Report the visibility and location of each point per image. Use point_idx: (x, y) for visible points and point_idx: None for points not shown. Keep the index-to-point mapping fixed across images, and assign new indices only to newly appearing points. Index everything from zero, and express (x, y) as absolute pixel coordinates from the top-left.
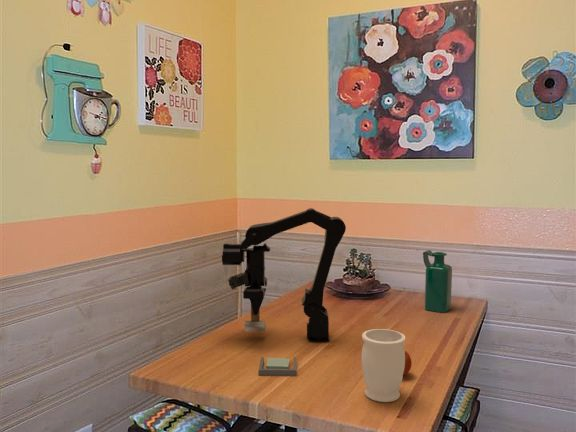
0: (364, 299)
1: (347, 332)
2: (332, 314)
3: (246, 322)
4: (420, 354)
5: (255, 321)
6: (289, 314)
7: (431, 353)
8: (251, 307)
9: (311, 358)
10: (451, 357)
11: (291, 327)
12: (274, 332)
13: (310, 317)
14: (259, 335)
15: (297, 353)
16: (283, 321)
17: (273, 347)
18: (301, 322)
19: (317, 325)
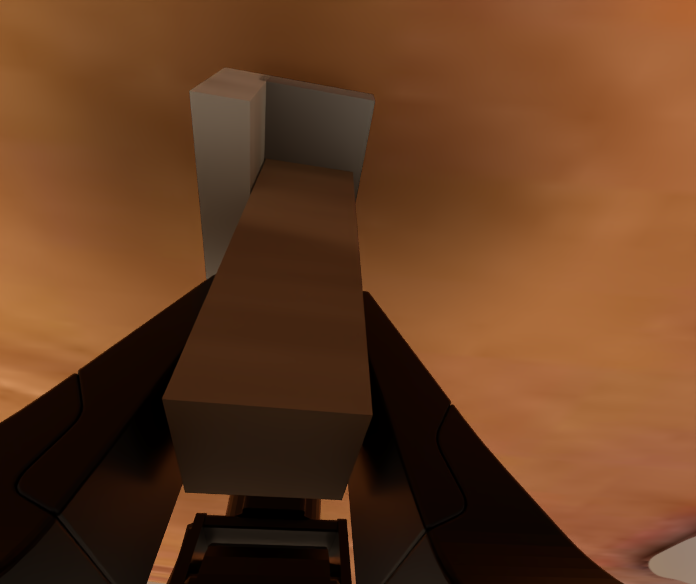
0: (661, 548)
1: (346, 494)
2: (567, 488)
3: (192, 120)
4: (159, 557)
5: (223, 238)
6: (692, 381)
7: (170, 566)
8: (203, 320)
9: (19, 391)
10: (151, 577)
11: (470, 369)
12: (413, 290)
13: (184, 551)
14: (373, 195)
15: (64, 355)
16: (593, 348)
17: (126, 261)
18: (528, 408)
19: (227, 506)
